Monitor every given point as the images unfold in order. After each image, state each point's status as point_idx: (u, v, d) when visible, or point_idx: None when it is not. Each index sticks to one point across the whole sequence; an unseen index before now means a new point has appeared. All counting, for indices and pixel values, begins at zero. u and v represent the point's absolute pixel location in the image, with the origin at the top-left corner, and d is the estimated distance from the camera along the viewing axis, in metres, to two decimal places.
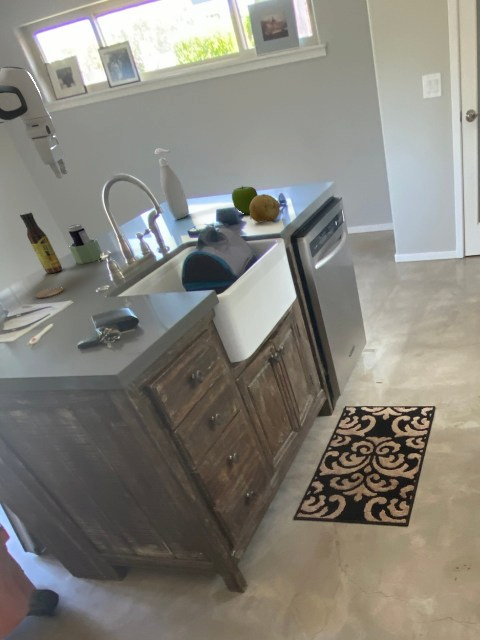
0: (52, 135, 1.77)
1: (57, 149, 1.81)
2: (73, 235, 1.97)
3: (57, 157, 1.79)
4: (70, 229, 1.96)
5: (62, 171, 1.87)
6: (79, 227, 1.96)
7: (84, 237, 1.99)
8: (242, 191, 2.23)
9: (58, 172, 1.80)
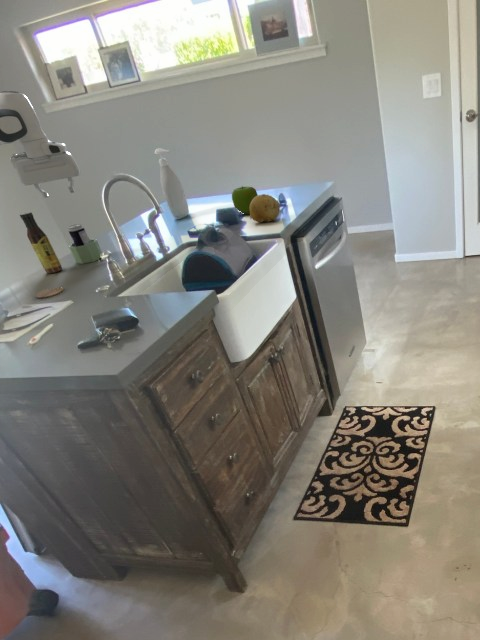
0: None
1: None
2: (73, 235, 1.97)
3: None
4: (70, 229, 1.96)
5: (47, 194, 1.89)
6: (79, 227, 1.96)
7: (84, 237, 1.99)
8: (242, 191, 2.23)
9: None
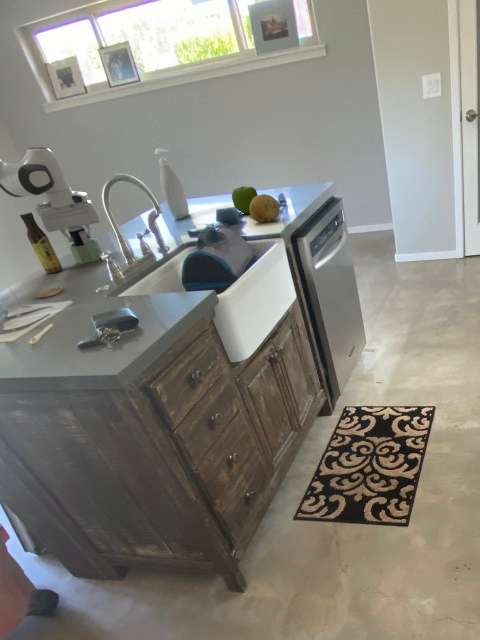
0: None
1: None
2: (73, 235, 1.97)
3: None
4: (70, 229, 1.96)
5: None
6: (79, 227, 1.96)
7: (84, 237, 1.99)
8: (242, 191, 2.23)
9: None
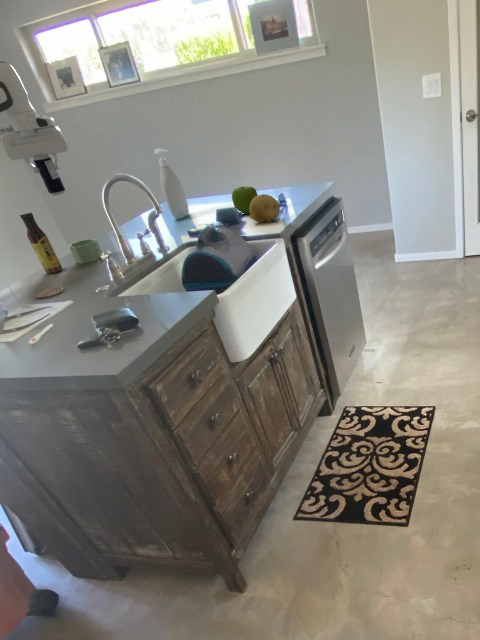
0: None
1: None
2: (38, 165, 1.81)
3: None
4: (35, 158, 1.80)
5: (37, 169, 1.83)
6: (45, 156, 1.81)
7: (51, 168, 1.83)
8: (242, 191, 2.23)
9: (57, 163, 1.84)
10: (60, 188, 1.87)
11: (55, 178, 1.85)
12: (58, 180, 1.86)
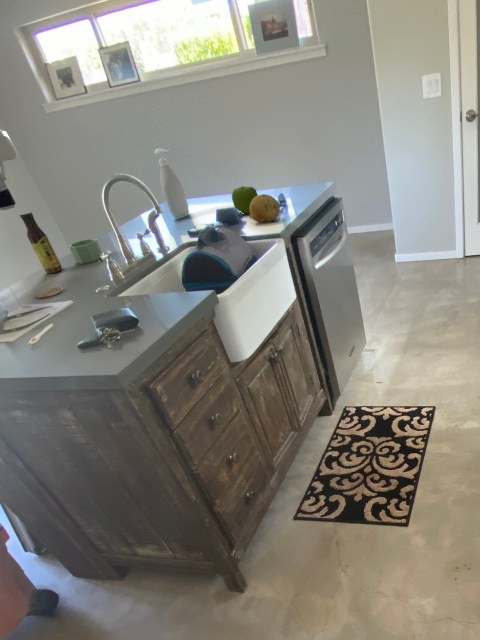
0: None
1: None
2: None
3: None
4: None
5: None
6: None
7: None
8: (242, 191, 2.23)
9: None
10: (9, 202, 1.59)
11: (2, 190, 1.57)
12: (6, 193, 1.58)
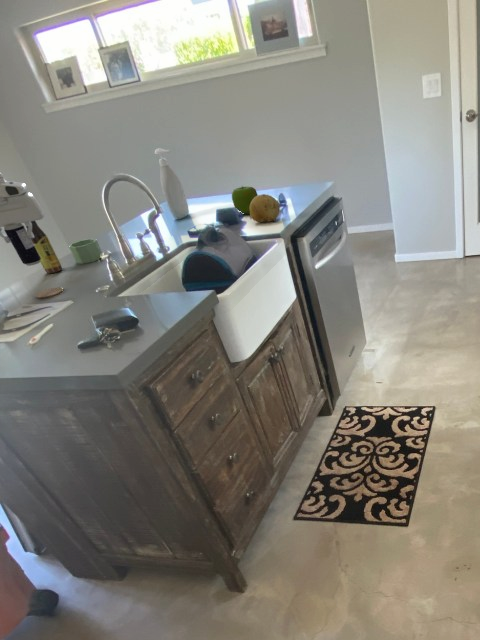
0: None
1: None
2: (9, 235, 1.62)
3: None
4: (6, 227, 1.61)
5: (9, 239, 1.65)
6: (17, 225, 1.62)
7: (24, 237, 1.64)
8: (242, 191, 2.23)
9: (31, 231, 1.65)
10: (35, 258, 1.68)
11: (28, 248, 1.66)
12: (32, 250, 1.67)
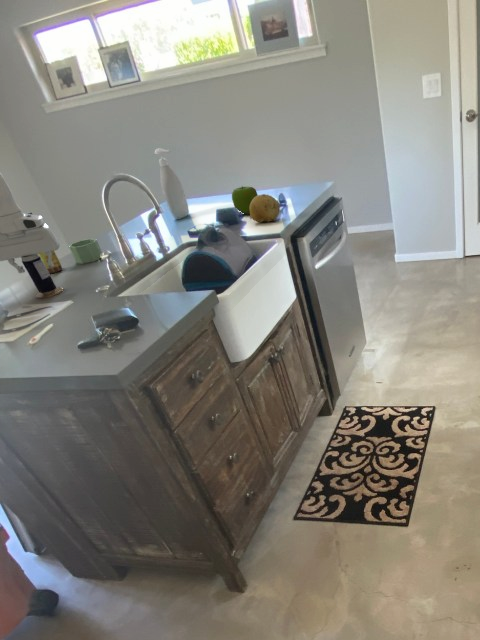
0: None
1: None
2: (26, 266, 1.69)
3: None
4: (23, 259, 1.68)
5: (22, 269, 1.71)
6: (34, 256, 1.68)
7: (40, 268, 1.70)
8: (242, 191, 2.23)
9: (51, 260, 1.72)
10: (51, 287, 1.75)
11: (45, 278, 1.72)
12: (48, 279, 1.73)
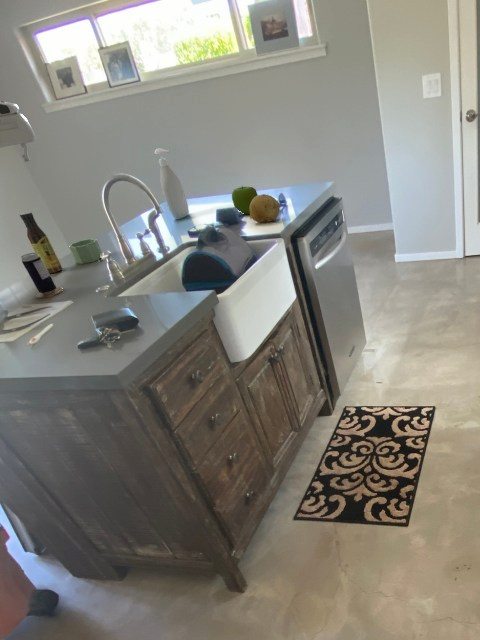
0: None
1: None
2: (26, 266, 1.69)
3: None
4: (23, 259, 1.68)
5: None
6: (34, 256, 1.68)
7: (40, 268, 1.70)
8: (242, 191, 2.23)
9: (27, 154, 1.65)
10: (51, 287, 1.75)
11: (45, 278, 1.72)
12: (48, 279, 1.73)
